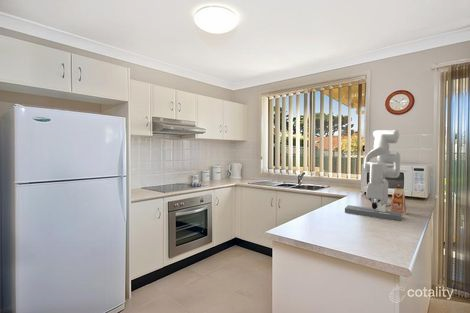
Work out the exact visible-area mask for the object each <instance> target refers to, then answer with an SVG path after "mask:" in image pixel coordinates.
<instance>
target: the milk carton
mask: <svg viewBox="0 0 470 313" xmlns="http://www.w3.org/2000/svg"><path fill="white" fill-rule="evenodd" d="M389 207H390V208H389V211H395V212H401V216H402V215H403V216H405V215H406V214H407V210H406V209H407V208H406V207H407V206H406V197H405V189H404V187H402V186H400V184H398V185H397V186H396V187H394V189H393V192H392V195H391V203H390V206H389Z"/></svg>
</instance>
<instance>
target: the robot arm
mask: <svg viewBox="0 0 470 313" xmlns="http://www.w3.org/2000/svg"><path fill="white" fill-rule="evenodd" d="M372 138H373V146H372V149H371V150H370V151H369V152H368V153H367V154H366V155H365V157H364V160H363V167H362V168H363V171H364V173H369V178H368V180H369V181H368V182H367V185H366V194H365V195H366V196H365V199H366V200H368V201H370V202H371V208H373V209H378V205H379V204H385V205H386V207H390V206H391V203H389V202H388V200H389V181H388V180H387V179H386V178H391V179H392V178H393V179H396V178H399V177H400V174H401V154H400V152H398V151H390V144H397V143H398V141H399V138H400V132H399V130H397V129H377V130H376V129H375V130H373V131H372ZM373 158H375V159H376V161H370V160H371V159H373ZM390 164H391V165H390Z"/></svg>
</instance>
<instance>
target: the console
mask: <svg viewBox="0 0 470 313" xmlns="http://www.w3.org/2000/svg"><path fill="white" fill-rule="evenodd" d="M344 213H346V214H352V215H358V216H365V217H370V218H379V219H386V220H393V221H399V222H401V221H402V214H401V212H395V211H390V210H387V209H386V211H385V212H381V211H378V208H376V209H373V208H372V207H365V206H364V207H363V206H357V205H350V204H348V205H347V206H345V208H344Z"/></svg>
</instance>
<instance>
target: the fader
mask: <svg viewBox="0 0 470 313" xmlns="http://www.w3.org/2000/svg"><path fill="white" fill-rule="evenodd" d="M377 209H378V211H381V212H385V211H386V210H387V206H386V205H385V204H379V205H377Z"/></svg>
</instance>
